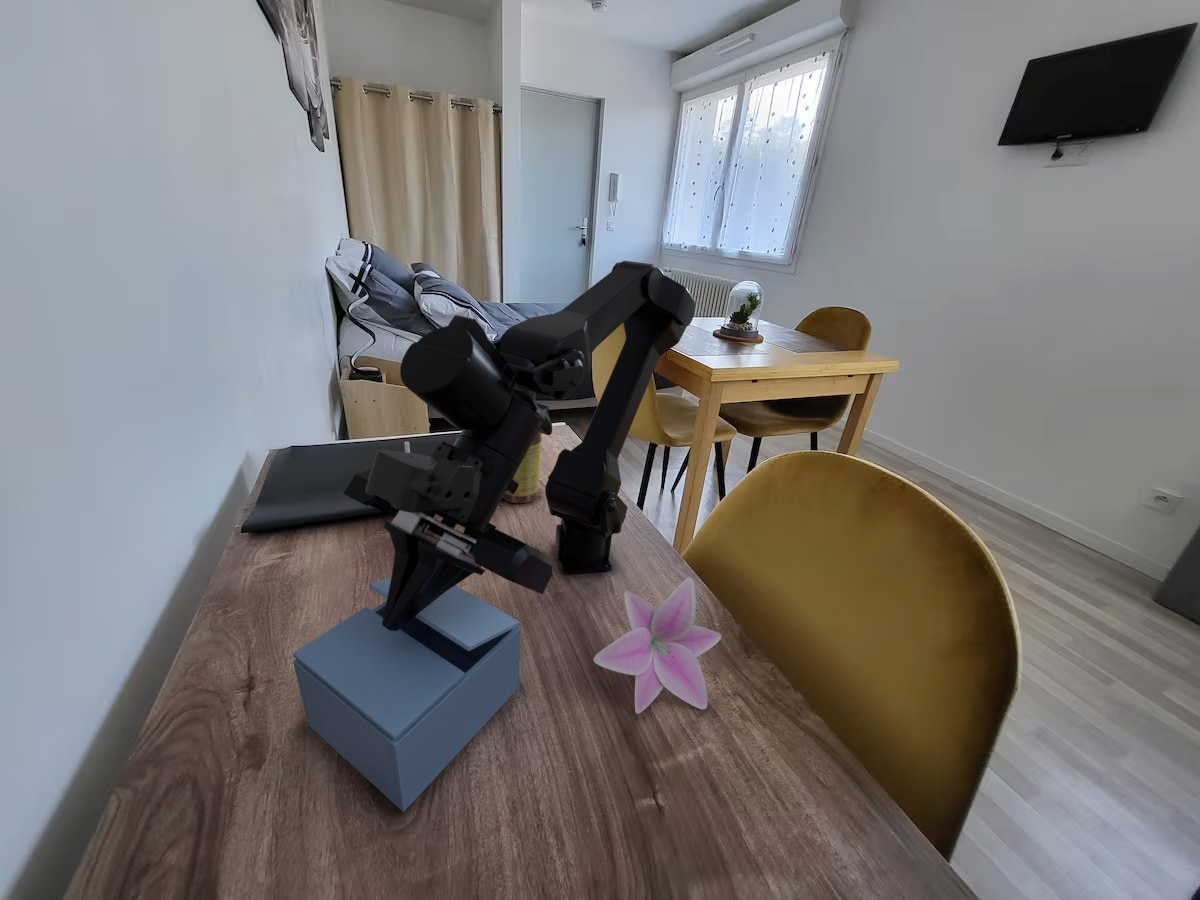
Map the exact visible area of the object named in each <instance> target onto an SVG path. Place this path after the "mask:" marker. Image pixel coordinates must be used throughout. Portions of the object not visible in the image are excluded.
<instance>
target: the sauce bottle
mask: <svg viewBox="0 0 1200 900" xmlns="http://www.w3.org/2000/svg"><path fill="white" fill-rule="evenodd" d="M513 389H514V390H519V391H522V392H524V393H526V394H527V395H529V396H530V397H531V399H532V400H533V401H534V402H536V394H537V393H534V392H530V391H527V390H524V389H520V388H517V387H514V388H513ZM542 441H543V440H542V433H539V432H538V433H537V435H536V437H535V438H534V440H533V442H532V444H531V446H530V448H529V450H528V451H527V453H526V455H525V457H524V459H523V461H522V462H521V464H520V466H519V468H518V470H517V472H516V474H515V475H514V477H513V480H514V481H515V482H517V483H518V484H519V486H518V488H517V490H516V492H515V494H514V495H513V494H511V493H509V492H505V494H504V496H503V497H502V499H504V500H505V501H506V502H508V503H511V504H513V503H514V504H526V503H530V502H532V501H533V500H536V498H537V496H538V493H539V492H538V491H539V488H540V476H541V475H540V472H541V460H542V459H541V457H542V456H541V455H542V454H541V453H542Z"/></svg>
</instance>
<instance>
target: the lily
mask: <svg viewBox="0 0 1200 900" xmlns="http://www.w3.org/2000/svg"><path fill="white" fill-rule="evenodd" d="M623 595H624V603H625V609H626V613H627V618H628V621H629V625H630V628H631V630H629V631H628V632H626V633H625V634H623V635H622V636H620V637H619V638H617V639H616V640H613V642H611V643H610V644H608V645H606V646H605V647H604V648H602V649H601V650H599V652H597V653H596V654H595V655H594V657H593V662H594V663H595V664H596V665H597V666H600V667H602V668H603V669H607V670H609V671H613V672H616V673H621V674H623V675H629V676H635V680H634V712H635V714H636V715H639V714H641V713H642V712H643V711H645V710H646V709H647V708H648V707H649V706H650V705H651V704H652V703H653V702H654V700H656V698H657V697H658V696H659V695H660V693H661V692H662V690H663V689H664V688H665V689H667V691H669V692H670V693H672V694H673V695H675V696H676V697H677V698H678V699H681V700H682V701H684V702H686V703H687V704H689V705H691V706H692V707H695V708H696V709H699V710H706V709H707V707H708V704H709V703H708V692H707V686H706V682H705V678H704V674H703V670H702V667H701V665H700V662H699V660H698V657H699V656H701V655H704V653H706V652H708V651H709V650H710V649H712V648H713V647H714V646H715V645H716V644H718V643H719V641H721V639H722V634H721V633H720V632H717V631H715V630H713V629H709V628H707V627H704V626H699V625H696V624H695V625H694V623H695V619H696V611H697V610H696V605H697V604H696V603H697V601H696V586H695V582H694V580H693V578H692V577H687V578H685V579H684V580H683V581H682V582H681V583H680V584H679V585H678V586H677V587H676V588H675V589H674V590H673V591H672V592H671V594H669V596H667V598H666V599H665V600H663V601H662V602H661V604H660V605H659V606H658V607H655V606H654V605H653V604H652V603H650V602H649V601H647V600H646V599H644V598H642V597H641V596H639V595H638V594H636V593H635V592H632V591H628V590H625V591H624V594H623Z"/></svg>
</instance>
